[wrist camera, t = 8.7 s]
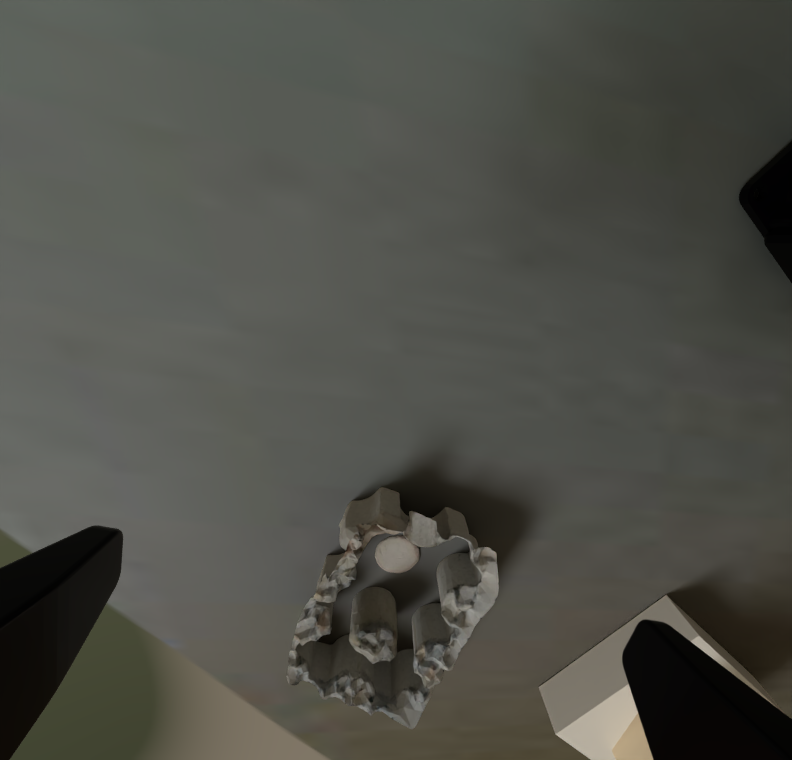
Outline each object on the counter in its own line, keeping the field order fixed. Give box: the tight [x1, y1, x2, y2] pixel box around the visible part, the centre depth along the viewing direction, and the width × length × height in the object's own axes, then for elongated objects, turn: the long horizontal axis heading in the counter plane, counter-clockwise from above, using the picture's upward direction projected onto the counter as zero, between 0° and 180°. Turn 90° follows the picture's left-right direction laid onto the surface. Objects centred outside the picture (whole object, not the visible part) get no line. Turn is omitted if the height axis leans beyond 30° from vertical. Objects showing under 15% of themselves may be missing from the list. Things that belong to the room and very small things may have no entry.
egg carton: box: [286, 487, 499, 729], centre depth 21 cm, size 11×8×4 cm
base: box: [539, 595, 785, 760], centre depth 24 cm, size 9×9×2 cm
